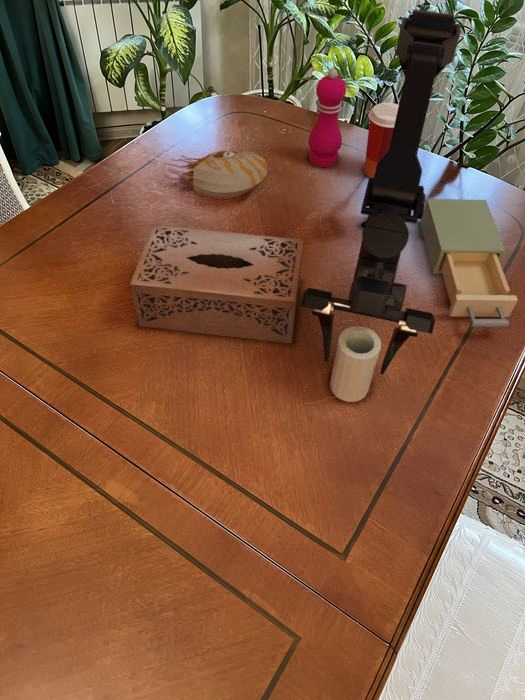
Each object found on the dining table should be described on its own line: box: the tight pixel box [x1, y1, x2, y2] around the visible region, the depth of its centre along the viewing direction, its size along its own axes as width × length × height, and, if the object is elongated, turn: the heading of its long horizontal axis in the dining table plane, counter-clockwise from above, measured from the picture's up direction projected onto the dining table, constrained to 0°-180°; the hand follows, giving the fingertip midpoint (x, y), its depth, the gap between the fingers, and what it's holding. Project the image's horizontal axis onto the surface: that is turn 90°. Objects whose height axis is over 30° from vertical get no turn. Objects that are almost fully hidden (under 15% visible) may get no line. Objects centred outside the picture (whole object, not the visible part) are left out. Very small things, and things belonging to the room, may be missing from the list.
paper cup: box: [363, 101, 399, 177], centre depth 119 cm, size 8×8×14 cm
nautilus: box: [164, 150, 269, 200], centre depth 118 cm, size 8×22×15 cm
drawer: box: [440, 253, 519, 329], centre depth 99 cm, size 18×10×4 cm, turn 0°
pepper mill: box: [308, 68, 347, 168], centre depth 119 cm, size 7×7×20 cm
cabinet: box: [419, 198, 506, 275], centre depth 108 cm, size 14×11×6 cm
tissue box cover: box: [129, 223, 304, 344], centre depth 96 cm, size 26×14×10 cm, turn 83°
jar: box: [329, 325, 382, 403], centre depth 86 cm, size 6×6×11 cm
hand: (353, 367), depth 84 cm, fingers open, 8 cm apart
